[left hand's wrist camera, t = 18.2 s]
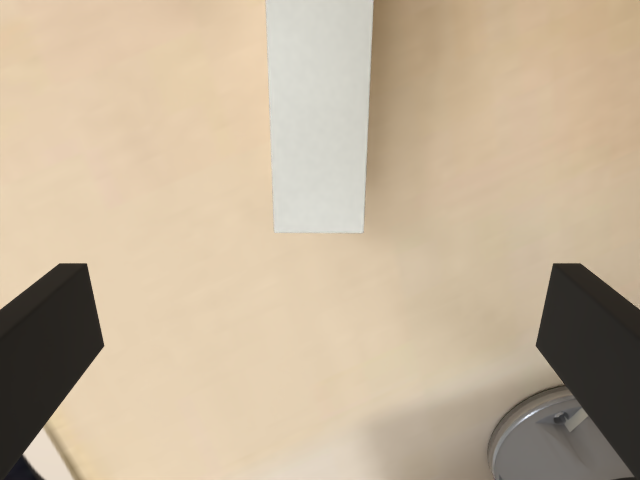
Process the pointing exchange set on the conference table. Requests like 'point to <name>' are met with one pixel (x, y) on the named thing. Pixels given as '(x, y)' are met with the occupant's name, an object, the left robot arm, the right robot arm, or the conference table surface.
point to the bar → (319, 112)
